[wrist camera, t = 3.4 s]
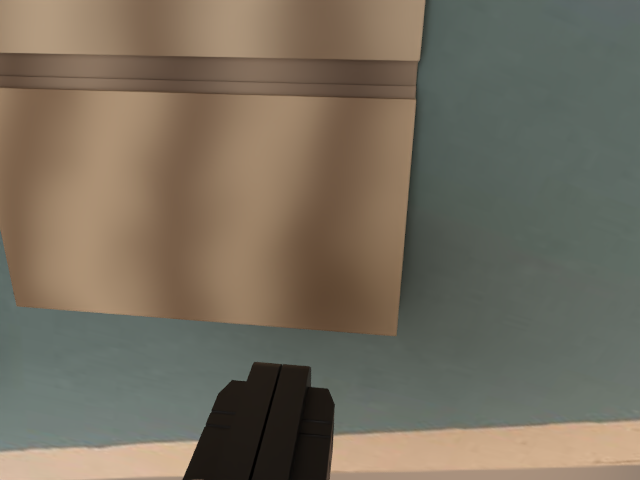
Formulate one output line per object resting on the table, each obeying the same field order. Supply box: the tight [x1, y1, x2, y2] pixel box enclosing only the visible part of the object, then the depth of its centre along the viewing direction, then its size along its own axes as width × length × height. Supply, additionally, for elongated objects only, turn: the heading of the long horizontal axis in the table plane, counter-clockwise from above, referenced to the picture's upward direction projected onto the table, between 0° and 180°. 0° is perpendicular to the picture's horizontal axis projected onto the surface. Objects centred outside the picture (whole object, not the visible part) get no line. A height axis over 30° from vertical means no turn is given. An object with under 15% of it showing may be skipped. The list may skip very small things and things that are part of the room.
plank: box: [0, 76, 416, 336], centre depth 21 cm, size 18×10×1 cm, turn 90°
